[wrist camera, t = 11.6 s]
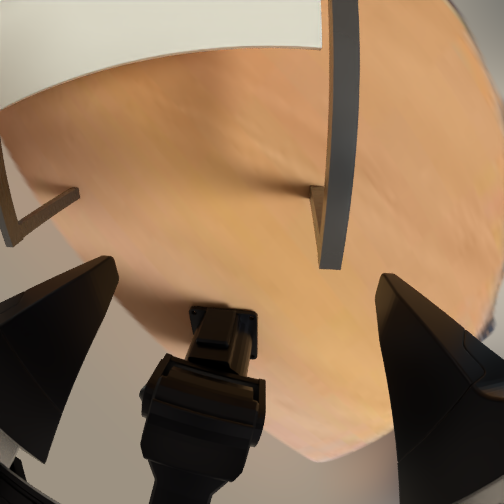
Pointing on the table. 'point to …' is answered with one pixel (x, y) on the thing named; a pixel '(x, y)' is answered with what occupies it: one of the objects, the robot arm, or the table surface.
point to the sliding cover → (136, 35)
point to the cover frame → (321, 198)
